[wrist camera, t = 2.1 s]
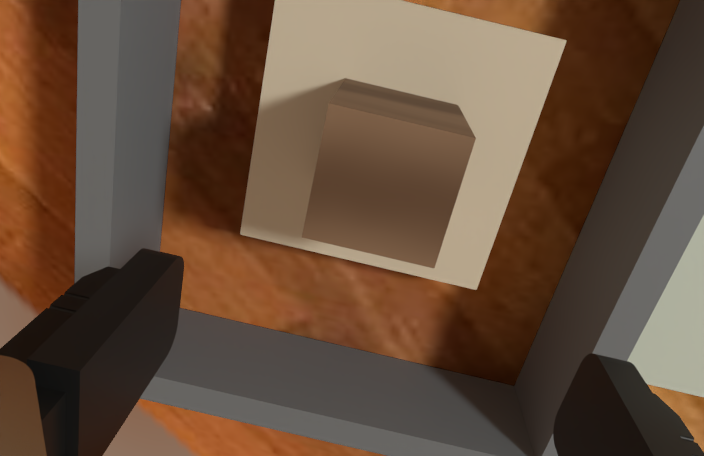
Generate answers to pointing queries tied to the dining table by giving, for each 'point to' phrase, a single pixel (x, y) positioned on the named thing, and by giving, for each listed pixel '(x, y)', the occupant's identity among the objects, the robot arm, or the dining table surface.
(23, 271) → the dining table surface
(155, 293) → the robot arm
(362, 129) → the walnut block
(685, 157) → the access box
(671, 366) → the board
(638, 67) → the dining table surface
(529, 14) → the dining table surface
